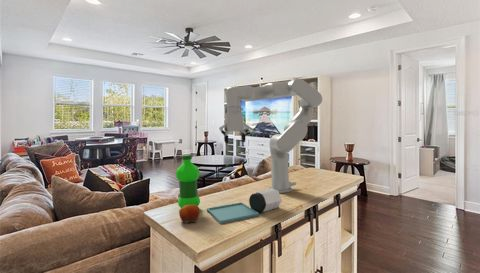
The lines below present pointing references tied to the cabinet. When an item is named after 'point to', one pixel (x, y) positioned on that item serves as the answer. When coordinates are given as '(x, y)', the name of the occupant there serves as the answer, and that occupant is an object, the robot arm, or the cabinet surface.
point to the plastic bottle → (188, 182)
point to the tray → (232, 212)
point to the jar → (265, 200)
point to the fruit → (189, 213)
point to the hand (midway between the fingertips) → (235, 142)
